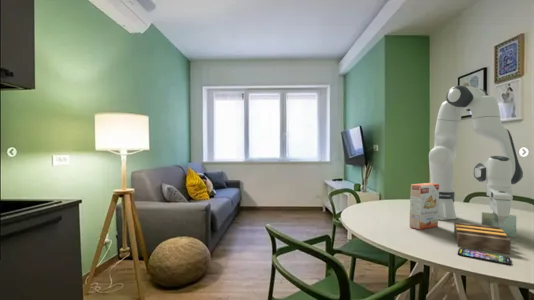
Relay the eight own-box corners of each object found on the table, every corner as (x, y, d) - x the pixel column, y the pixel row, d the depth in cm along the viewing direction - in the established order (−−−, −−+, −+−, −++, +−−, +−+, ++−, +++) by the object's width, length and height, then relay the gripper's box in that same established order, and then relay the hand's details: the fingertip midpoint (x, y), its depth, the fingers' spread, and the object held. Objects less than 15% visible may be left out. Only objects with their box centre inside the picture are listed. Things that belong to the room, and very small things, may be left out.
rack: (457, 246, 114) (458, 233, 114) (454, 232, 131) (454, 221, 131) (510, 254, 106) (510, 239, 106) (498, 238, 124) (499, 226, 123)
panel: (481, 232, 132) (482, 212, 132) (481, 231, 134) (481, 212, 134) (515, 236, 126) (516, 216, 126) (514, 235, 128) (515, 215, 128)
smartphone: (511, 264, 96) (457, 253, 105) (511, 267, 96) (457, 256, 105) (510, 257, 102) (459, 247, 111) (510, 259, 102) (458, 250, 111)
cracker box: (420, 230, 135) (421, 185, 134) (408, 227, 140) (409, 184, 140) (439, 226, 141) (439, 183, 141) (427, 223, 147) (428, 182, 146)
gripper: (486, 188, 140) (485, 217, 141) (494, 195, 122) (493, 228, 123) (502, 189, 137) (502, 219, 138) (513, 196, 119) (513, 230, 120)
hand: (498, 223), depth 130 cm, fingers open, 8 cm apart
